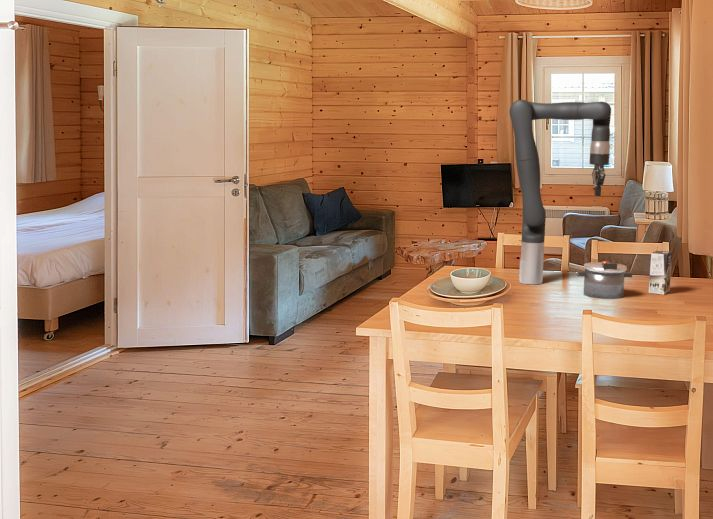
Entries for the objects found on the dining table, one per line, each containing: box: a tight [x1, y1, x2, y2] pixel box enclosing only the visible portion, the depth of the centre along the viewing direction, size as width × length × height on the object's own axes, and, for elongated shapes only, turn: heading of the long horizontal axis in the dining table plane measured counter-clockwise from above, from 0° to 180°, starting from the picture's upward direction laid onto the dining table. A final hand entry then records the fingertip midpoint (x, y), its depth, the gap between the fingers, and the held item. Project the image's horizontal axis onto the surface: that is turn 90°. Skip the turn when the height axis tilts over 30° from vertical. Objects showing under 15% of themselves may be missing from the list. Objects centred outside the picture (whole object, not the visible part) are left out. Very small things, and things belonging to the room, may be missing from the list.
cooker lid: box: [583, 260, 628, 273], centre depth 353 cm, size 16×16×4 cm
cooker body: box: [576, 269, 633, 300], centre depth 355 cm, size 21×17×10 cm
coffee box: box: [648, 250, 673, 295], centre depth 361 cm, size 9×6×16 cm
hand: (597, 195), depth 367 cm, fingers closed
